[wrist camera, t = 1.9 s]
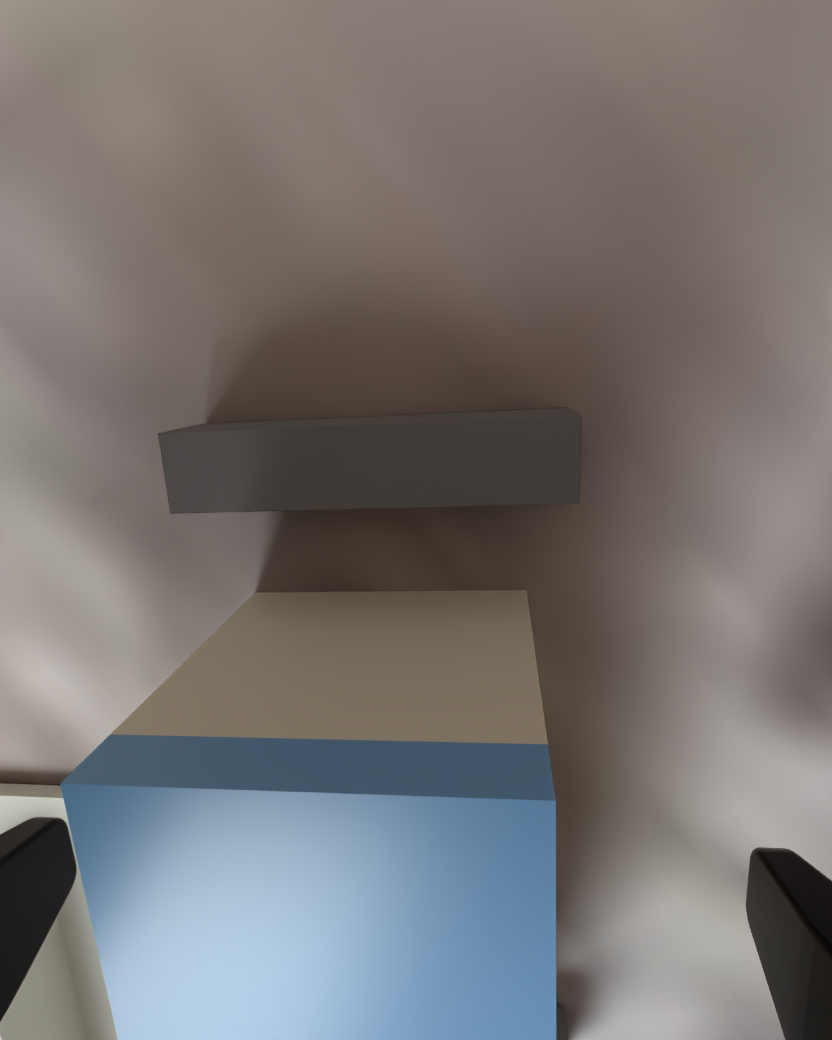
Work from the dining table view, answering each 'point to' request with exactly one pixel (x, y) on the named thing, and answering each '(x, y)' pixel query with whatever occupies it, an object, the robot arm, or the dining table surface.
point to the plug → (330, 828)
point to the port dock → (57, 949)
